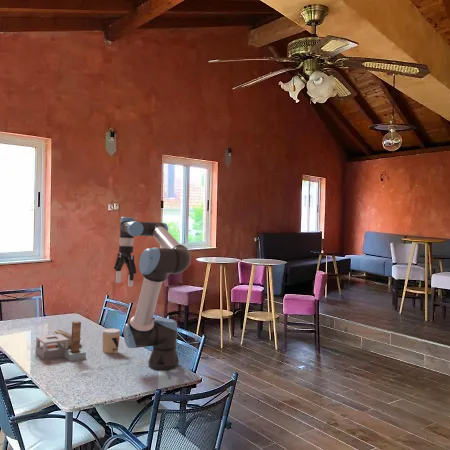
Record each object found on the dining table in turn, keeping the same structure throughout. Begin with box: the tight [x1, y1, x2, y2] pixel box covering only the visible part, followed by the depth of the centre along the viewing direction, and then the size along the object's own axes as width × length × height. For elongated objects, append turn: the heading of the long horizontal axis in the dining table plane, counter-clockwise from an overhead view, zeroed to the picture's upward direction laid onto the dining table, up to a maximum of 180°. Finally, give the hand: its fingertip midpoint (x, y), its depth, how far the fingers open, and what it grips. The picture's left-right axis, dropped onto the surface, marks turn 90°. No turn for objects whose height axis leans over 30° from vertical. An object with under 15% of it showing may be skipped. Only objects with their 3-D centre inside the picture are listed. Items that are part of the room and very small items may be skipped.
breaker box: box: [35, 333, 69, 361], centre depth 220 cm, size 12×12×10 cm
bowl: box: [53, 329, 81, 347], centre depth 238 cm, size 15×14×10 cm
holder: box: [63, 348, 87, 362], centre depth 218 cm, size 8×8×4 cm
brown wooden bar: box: [70, 320, 82, 353], centre depth 218 cm, size 3×3×18 cm
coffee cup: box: [102, 327, 121, 355], centre depth 232 cm, size 9×9×12 cm
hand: (124, 284), depth 234 cm, fingers open, 13 cm apart
